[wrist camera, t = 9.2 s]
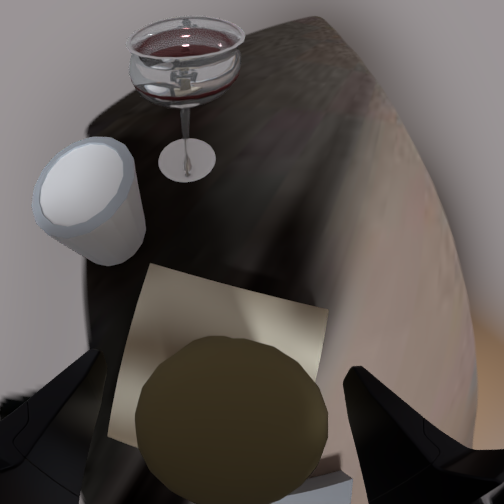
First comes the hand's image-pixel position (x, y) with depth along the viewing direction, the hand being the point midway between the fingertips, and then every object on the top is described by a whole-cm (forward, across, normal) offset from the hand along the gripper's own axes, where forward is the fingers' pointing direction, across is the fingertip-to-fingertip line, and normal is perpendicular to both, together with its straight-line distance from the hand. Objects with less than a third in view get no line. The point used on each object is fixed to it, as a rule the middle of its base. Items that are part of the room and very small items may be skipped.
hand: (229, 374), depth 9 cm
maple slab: (+6, 0, +7) cm, 9 cm away
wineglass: (+18, +4, -4) cm, 19 cm away
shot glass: (+13, +9, +1) cm, 16 cm away
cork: (+4, 0, +6) cm, 8 cm away
